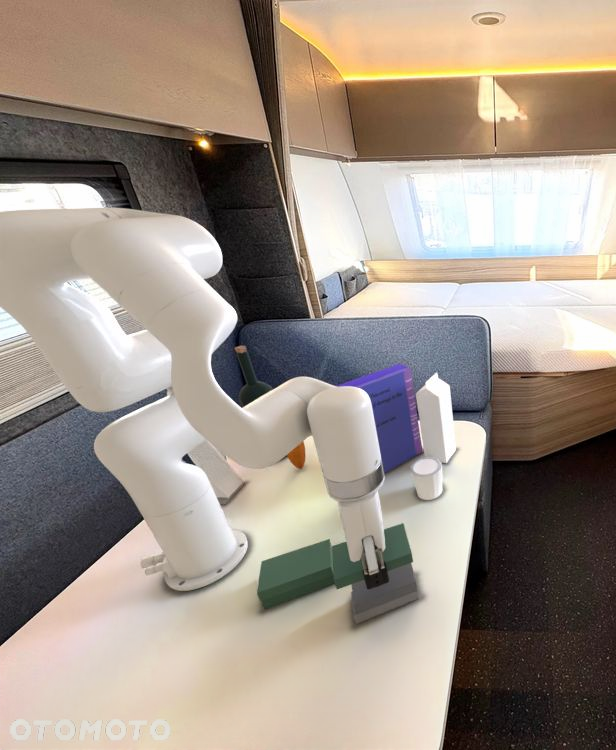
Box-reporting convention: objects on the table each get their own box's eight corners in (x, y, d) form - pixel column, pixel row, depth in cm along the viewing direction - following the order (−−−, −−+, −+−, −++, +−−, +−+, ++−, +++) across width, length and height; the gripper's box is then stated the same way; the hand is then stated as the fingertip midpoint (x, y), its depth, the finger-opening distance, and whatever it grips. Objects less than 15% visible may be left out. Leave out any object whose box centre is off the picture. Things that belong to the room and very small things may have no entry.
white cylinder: (439, 503, 83) (435, 478, 80) (409, 500, 84) (404, 474, 81) (449, 482, 89) (446, 457, 86) (421, 479, 90) (417, 455, 87)
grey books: (355, 624, 60) (350, 607, 58) (353, 599, 64) (348, 583, 62) (419, 598, 63) (416, 582, 62) (413, 576, 67) (410, 560, 65)
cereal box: (412, 445, 103) (398, 362, 92) (422, 452, 100) (410, 367, 89) (350, 477, 92) (327, 388, 81) (360, 486, 88) (337, 394, 78)
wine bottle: (271, 441, 107) (236, 339, 94) (299, 447, 104) (267, 342, 91) (246, 457, 100) (204, 350, 88) (275, 465, 97) (236, 354, 84)
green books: (264, 609, 63) (256, 593, 61) (268, 576, 68) (261, 561, 66) (336, 582, 66) (330, 566, 65) (334, 554, 72) (329, 538, 70)
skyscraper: (220, 479, 93) (175, 374, 81) (253, 479, 92) (212, 373, 80) (194, 504, 85) (139, 392, 73) (229, 504, 85) (180, 392, 73)
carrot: (316, 466, 96) (300, 414, 90) (297, 478, 92) (280, 424, 86) (304, 460, 98) (288, 409, 92) (285, 471, 95) (268, 419, 88)
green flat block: (336, 590, 55) (333, 580, 54) (334, 554, 60) (332, 545, 59) (413, 562, 59) (411, 553, 58) (404, 531, 64) (403, 522, 63)
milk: (425, 459, 97) (412, 381, 87) (435, 446, 102) (425, 370, 93) (447, 463, 95) (436, 384, 86) (457, 449, 100) (448, 372, 91)
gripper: (323, 447, 58) (345, 532, 66) (327, 529, 44) (354, 626, 52) (374, 435, 61) (390, 518, 69) (393, 509, 47) (410, 604, 54)
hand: (374, 564), depth 60 cm, fingers closed on green flat block, 6 cm apart
